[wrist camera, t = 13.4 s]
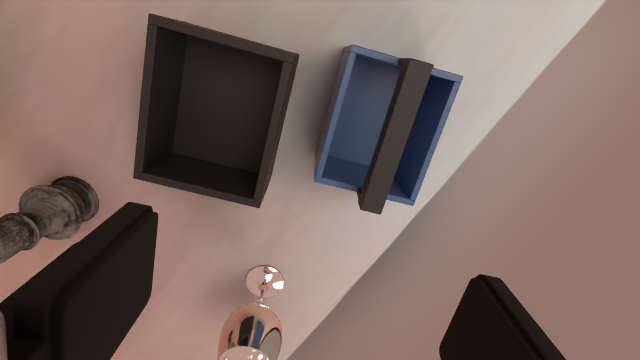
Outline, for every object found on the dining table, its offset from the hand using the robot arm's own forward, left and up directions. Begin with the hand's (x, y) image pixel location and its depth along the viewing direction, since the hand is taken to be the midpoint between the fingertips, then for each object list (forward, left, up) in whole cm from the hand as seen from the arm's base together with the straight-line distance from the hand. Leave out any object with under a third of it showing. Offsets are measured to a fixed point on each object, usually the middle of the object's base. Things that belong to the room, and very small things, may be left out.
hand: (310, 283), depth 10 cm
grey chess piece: (+15, -23, -26) cm, 38 cm away
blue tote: (-2, +5, -26) cm, 27 cm away
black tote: (+1, -8, -26) cm, 28 cm away
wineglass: (+20, -1, -26) cm, 33 cm away
